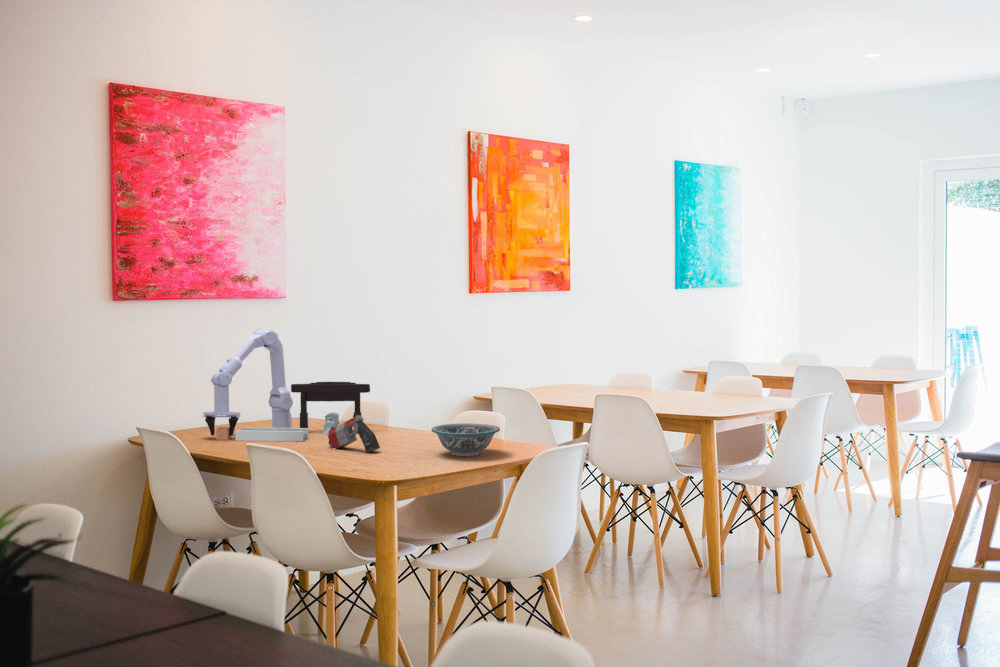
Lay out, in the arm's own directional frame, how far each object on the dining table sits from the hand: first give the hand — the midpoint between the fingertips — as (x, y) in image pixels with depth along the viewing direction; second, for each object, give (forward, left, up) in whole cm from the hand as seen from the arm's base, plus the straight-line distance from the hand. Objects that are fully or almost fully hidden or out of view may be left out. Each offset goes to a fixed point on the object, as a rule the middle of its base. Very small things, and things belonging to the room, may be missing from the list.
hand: (222, 435), depth 387 cm
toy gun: (+21, +58, -2) cm, 62 cm away
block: (0, +3, +1) cm, 3 cm away
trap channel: (0, +20, -1) cm, 20 cm away
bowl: (+27, +101, -2) cm, 105 cm away
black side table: (-20, +39, -2) cm, 44 cm away
